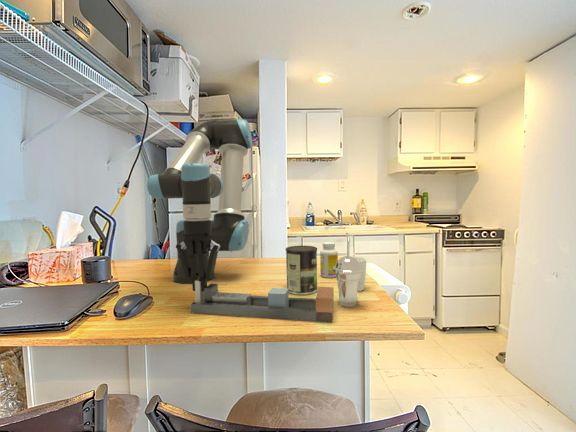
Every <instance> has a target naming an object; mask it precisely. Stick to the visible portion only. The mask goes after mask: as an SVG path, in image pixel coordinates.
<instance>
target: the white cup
mask: <svg viewBox="0 0 576 432" xmlns="http://www.w3.org/2000/svg"><path fill="white" fill-rule="evenodd" d="M352 257H353V258H355V259H356V260H357V261H358V262H359V264H360V267H362V268H363V272H362V273H360V278H359V282H358V291H357V292H361V291H362V290H363V291H364V290H365V288H366V284H365V283H366V282H365V281H366V274H367V273H366V272H367V258H365V257H362V256H352ZM363 291H362V292H363Z"/></svg>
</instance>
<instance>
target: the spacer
mask: <svg viewBox="0 0 576 432" xmlns="http://www.w3.org/2000/svg"><path fill="white" fill-rule="evenodd" d="M289 294H290V293H289V291H288V289H287V287H285V288H283V287H281V288H280V287H271V289H270V290H269V291H268V293H267V296H268V307H285V308H289V297H290V296H289Z"/></svg>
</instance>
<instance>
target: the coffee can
mask: <svg viewBox="0 0 576 432" xmlns="http://www.w3.org/2000/svg"><path fill="white" fill-rule="evenodd" d="M285 254H286V256H285V257H286V258H285V259H286V288H287V289H288V291H289V294H292V295H297V296H305V295H307V296H308V295H313V294H315V293H317V292H318V259H317V258H318V257H317V255H318V248H317V247H316V246H314V245H313V246H312V245H291V246H287V247H285Z"/></svg>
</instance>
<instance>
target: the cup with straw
mask: <svg viewBox="0 0 576 432" xmlns="http://www.w3.org/2000/svg"><path fill="white" fill-rule="evenodd" d="M345 236H346V255H345V256H341V258H338V261H337V263H336V266H334V267H333V271H334V272H336V277H335V278H336V282H337V289H338V290H337V292H338V297H339V299H338V300H339V305H341V306H343V307H346V308H347V307H351V308H352V307H355V306H356V305H357V298H358V292H359V291H358V282H359V278H360V273H362V272H363V268H362V267H360V264H359V262H358V261H357V260H356V259H355V258H353V257H354V256H351V255H350V251H351V250H350V240H351V239H350V236H349V233H348V232H346V233H345Z"/></svg>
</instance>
